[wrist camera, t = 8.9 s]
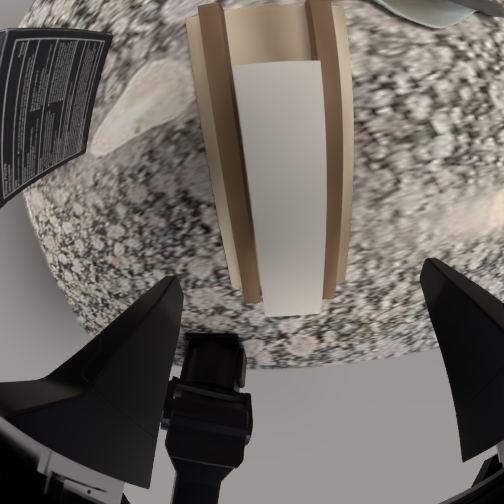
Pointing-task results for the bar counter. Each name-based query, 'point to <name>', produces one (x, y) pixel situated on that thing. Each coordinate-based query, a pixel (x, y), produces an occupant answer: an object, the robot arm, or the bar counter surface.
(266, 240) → the door panel
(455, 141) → the bar counter surface
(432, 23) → the salad plate
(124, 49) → the bar counter surface
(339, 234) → the floor track
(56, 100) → the small box
